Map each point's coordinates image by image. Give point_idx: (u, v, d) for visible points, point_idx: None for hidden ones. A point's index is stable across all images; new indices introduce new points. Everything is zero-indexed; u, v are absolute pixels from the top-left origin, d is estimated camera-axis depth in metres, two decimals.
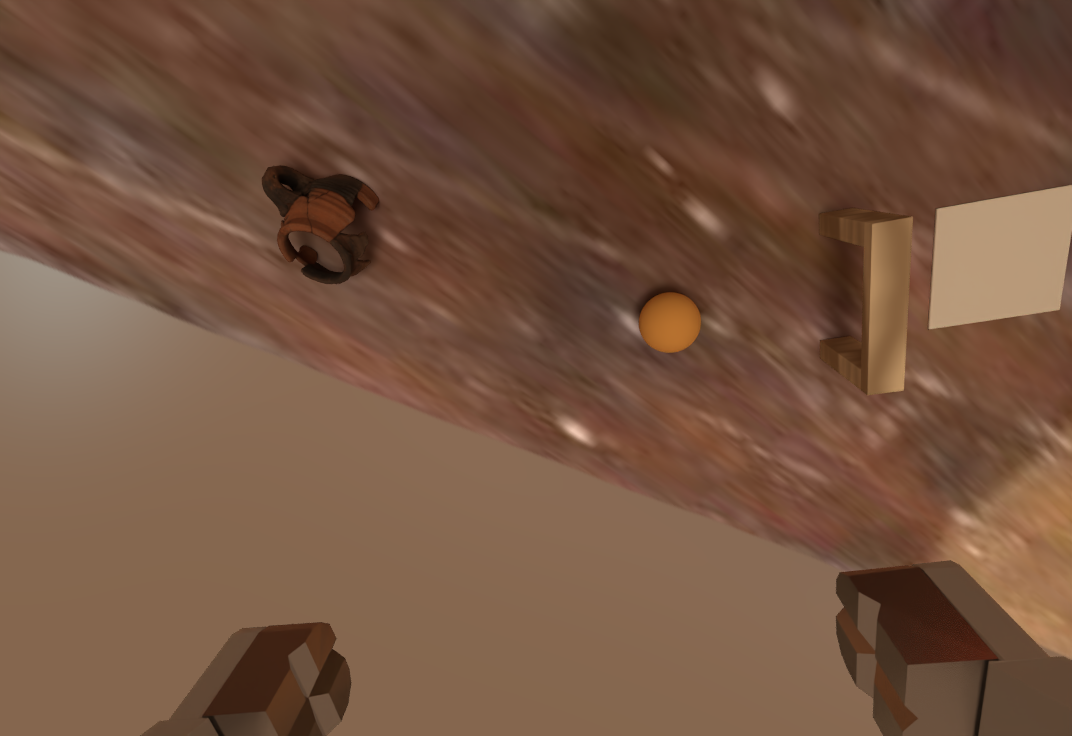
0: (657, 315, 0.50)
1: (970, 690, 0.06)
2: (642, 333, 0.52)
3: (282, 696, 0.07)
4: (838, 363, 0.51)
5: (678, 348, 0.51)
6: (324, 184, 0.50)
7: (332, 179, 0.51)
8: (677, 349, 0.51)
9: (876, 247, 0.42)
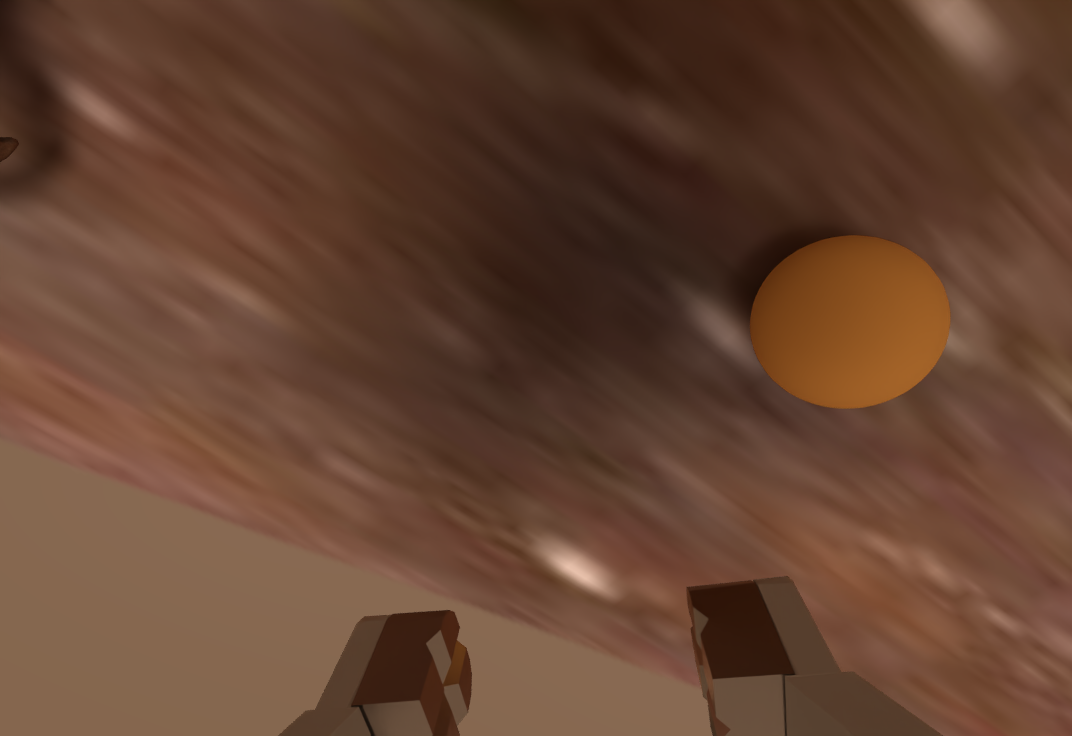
0: (831, 300, 0.16)
1: (774, 703, 0.06)
2: (767, 354, 0.18)
3: (430, 685, 0.07)
4: None
5: (881, 400, 0.17)
6: None
7: None
8: (876, 402, 0.17)
9: None
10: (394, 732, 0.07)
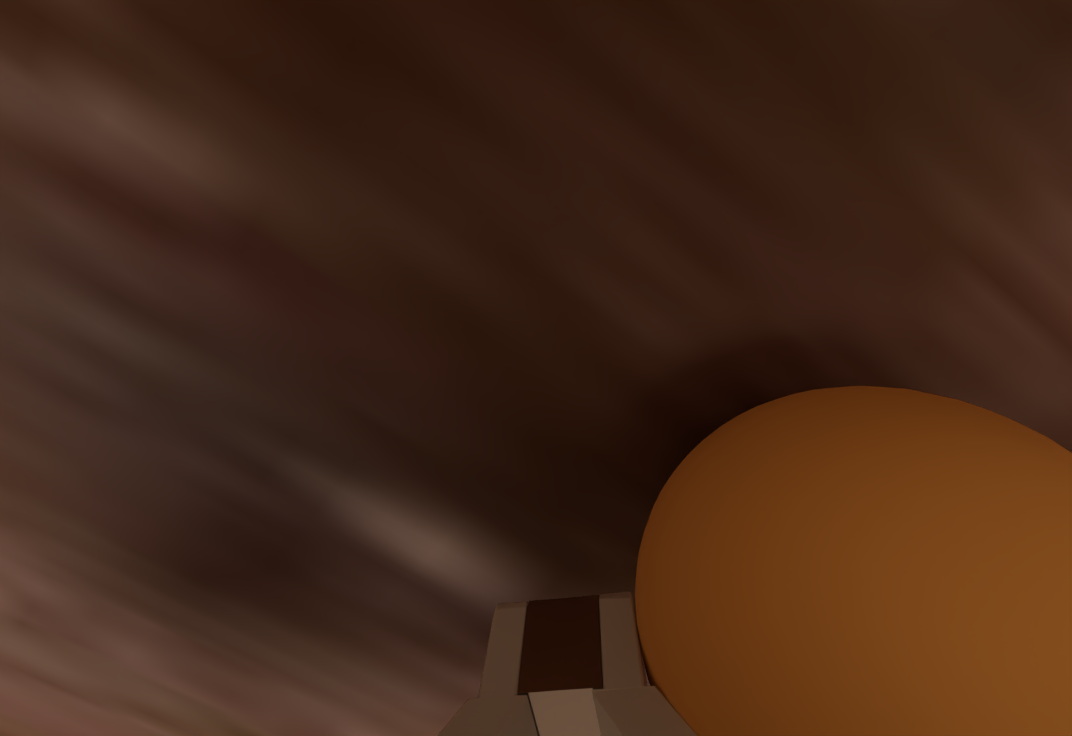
0: None
1: (587, 716, 0.07)
2: None
3: (593, 672, 0.07)
4: None
5: None
6: None
7: None
8: None
9: None
10: (558, 721, 0.07)
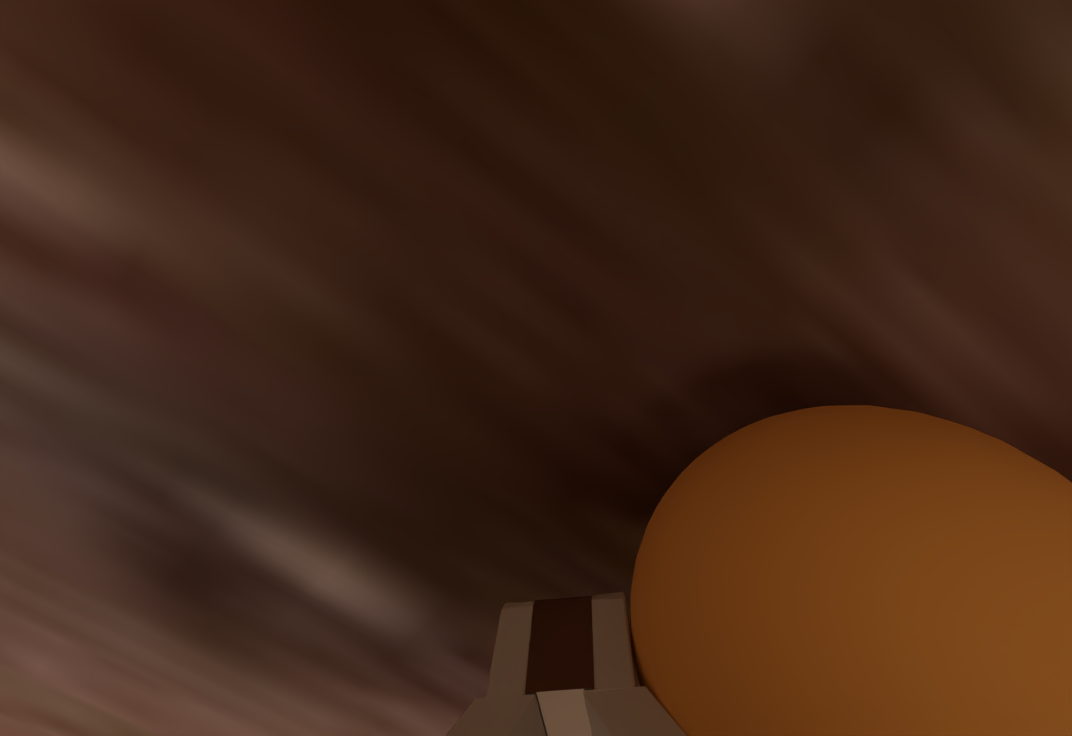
0: None
1: (579, 716, 0.07)
2: None
3: (600, 672, 0.07)
4: None
5: None
6: None
7: None
8: None
9: None
10: (566, 721, 0.07)
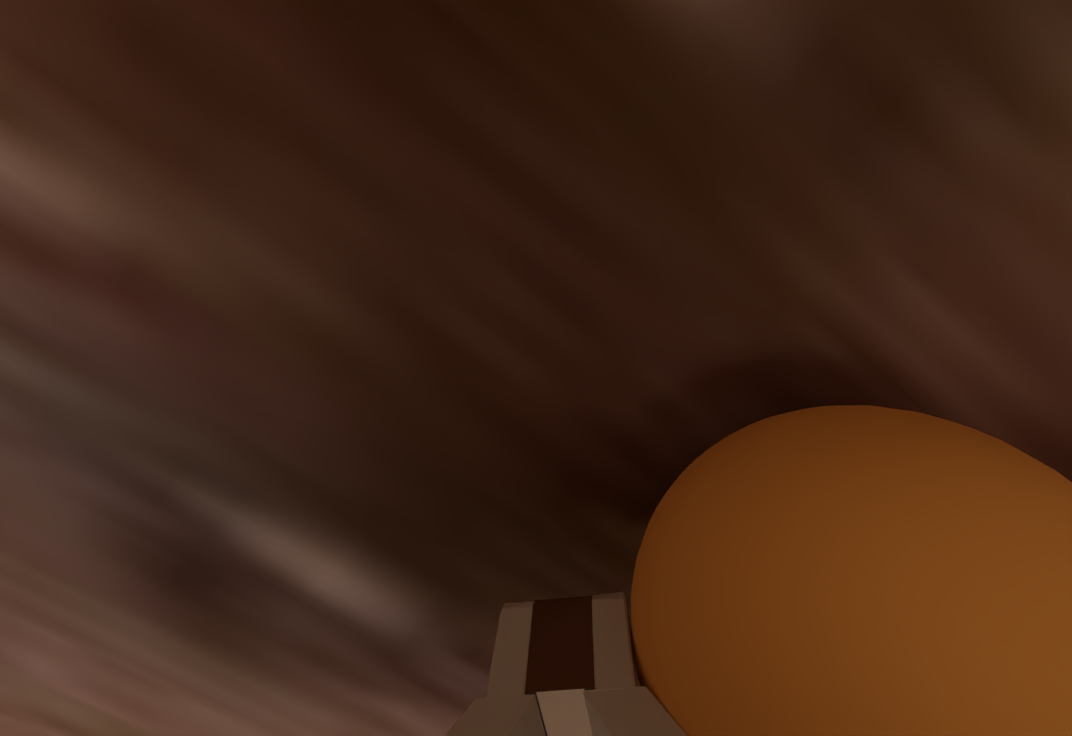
0: None
1: (579, 716, 0.07)
2: None
3: (601, 672, 0.07)
4: None
5: None
6: None
7: None
8: None
9: None
10: (566, 721, 0.07)
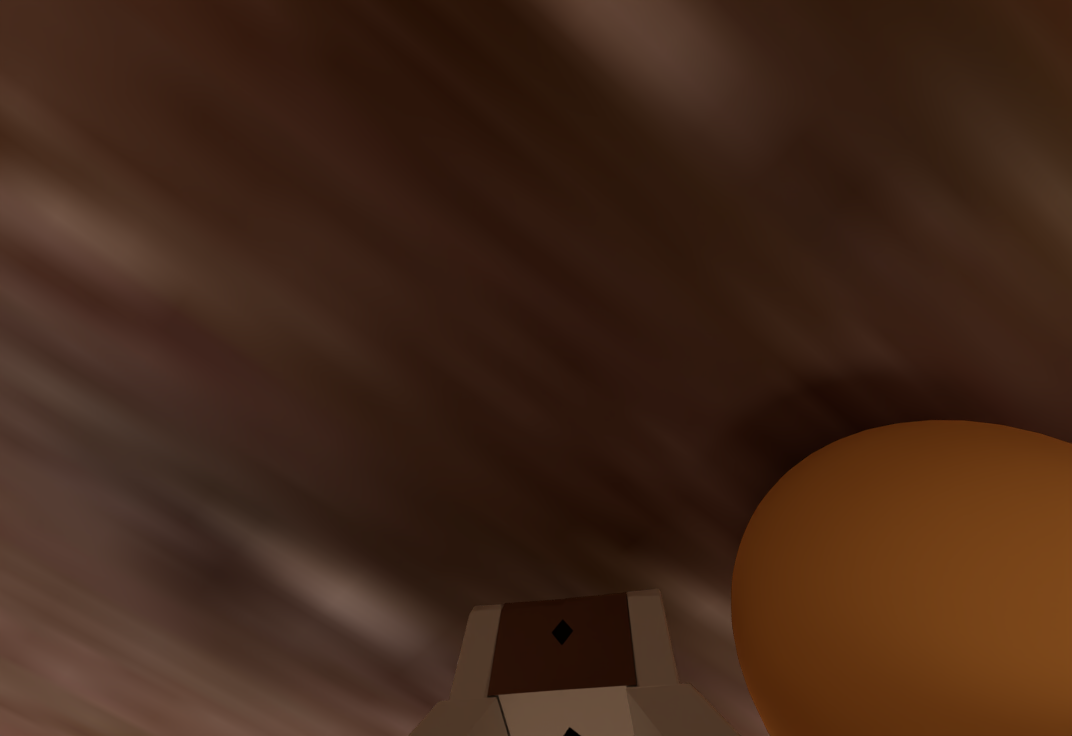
0: None
1: (621, 713, 0.07)
2: None
3: (563, 675, 0.07)
4: None
5: None
6: None
7: None
8: None
9: None
10: (529, 723, 0.07)
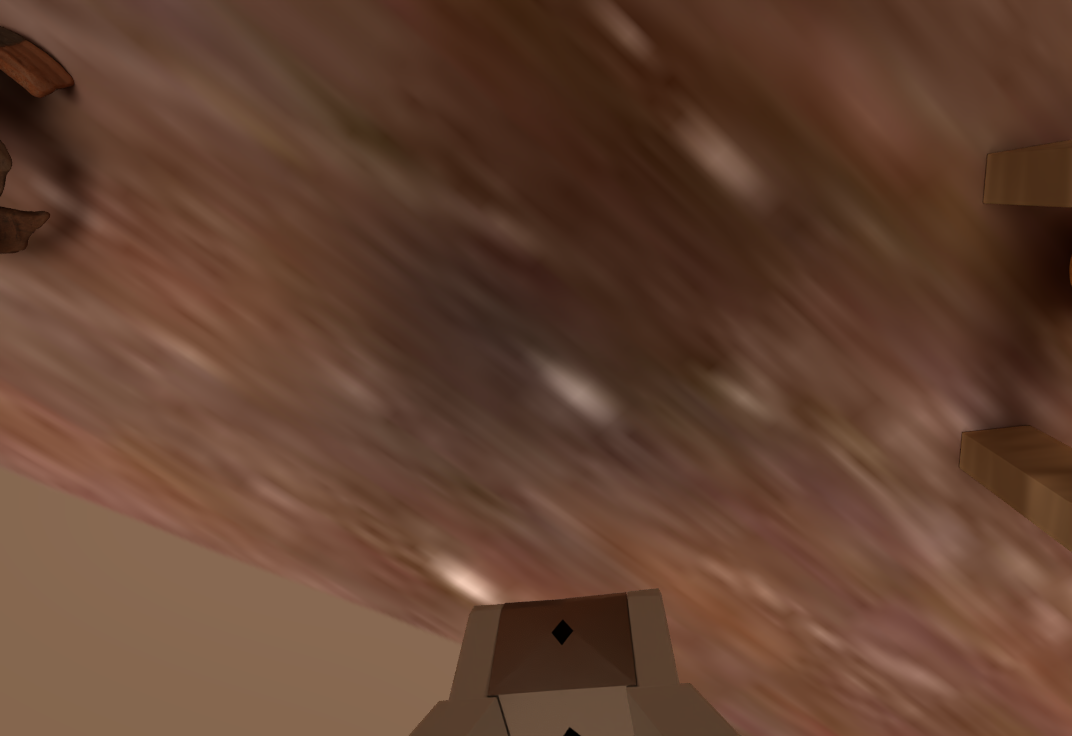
0: None
1: (621, 713, 0.07)
2: None
3: (563, 675, 0.07)
4: (1027, 496, 0.22)
5: None
6: None
7: None
8: None
9: None
10: (529, 723, 0.07)
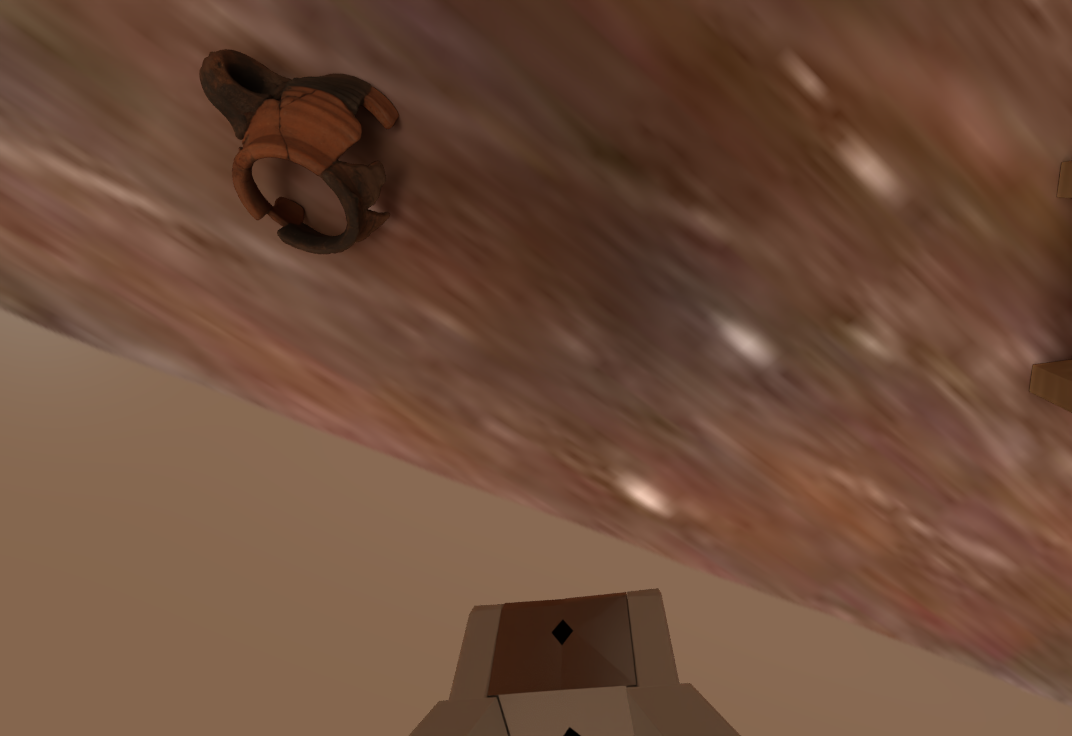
0: None
1: (621, 713, 0.07)
2: None
3: (563, 675, 0.07)
4: None
5: None
6: (308, 82, 0.29)
7: (321, 77, 0.31)
8: None
9: None
10: (529, 723, 0.07)
